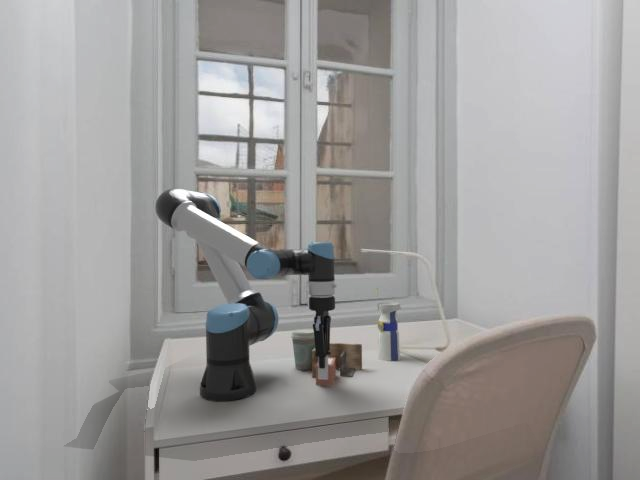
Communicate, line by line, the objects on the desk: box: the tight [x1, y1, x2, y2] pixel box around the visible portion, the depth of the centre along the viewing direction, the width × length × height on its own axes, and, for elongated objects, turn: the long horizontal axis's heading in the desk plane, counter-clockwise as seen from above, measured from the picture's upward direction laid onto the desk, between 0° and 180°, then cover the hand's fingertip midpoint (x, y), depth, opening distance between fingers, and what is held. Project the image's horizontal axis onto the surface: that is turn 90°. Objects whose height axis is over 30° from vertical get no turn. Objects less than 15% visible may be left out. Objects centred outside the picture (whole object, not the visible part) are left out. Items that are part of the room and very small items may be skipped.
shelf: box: [311, 342, 363, 378], centre depth 128 cm, size 14×11×8 cm
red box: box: [315, 357, 337, 386], centre depth 121 cm, size 5×9×6 cm, turn 173°
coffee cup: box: [291, 328, 315, 371], centre depth 134 cm, size 8×8×12 cm
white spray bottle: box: [375, 289, 402, 362], centre depth 144 cm, size 8×9×25 cm
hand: (323, 378), depth 116 cm, fingers closed
